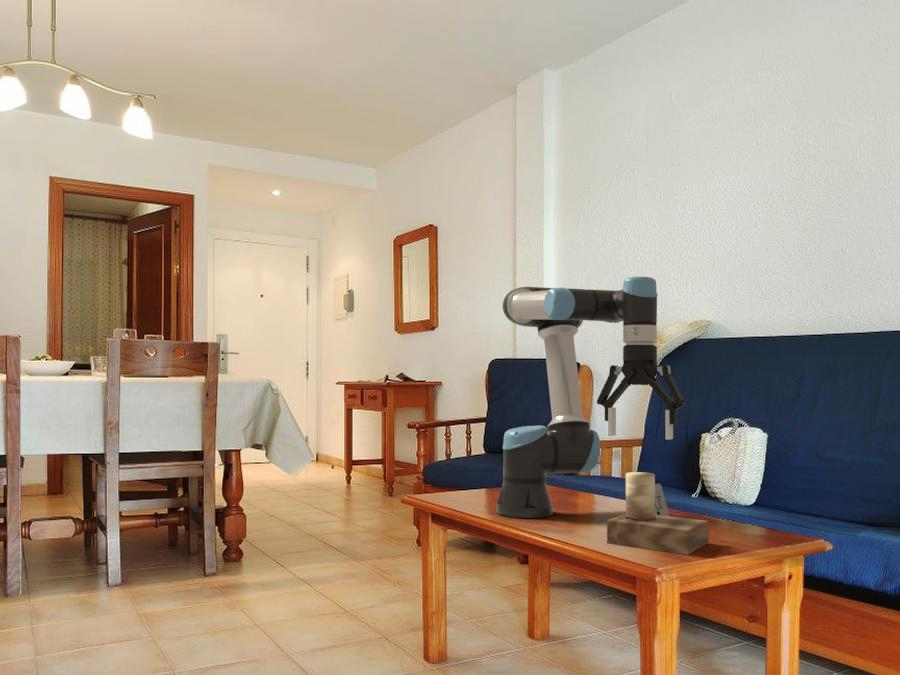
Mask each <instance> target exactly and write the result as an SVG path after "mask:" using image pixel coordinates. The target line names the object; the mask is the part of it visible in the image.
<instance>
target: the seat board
mask: <svg viewBox="0 0 900 675" xmlns="http://www.w3.org/2000/svg"><path fill="white" fill-rule="evenodd" d="M606 520H607V521H606V543H607V544H610V545H611V544H612V545H618V546H625V547H632V548H637V549H638V548H639V549H646V550H651V551H659V552H664V553H671V554H672V553H673V554H680V555H684V556H685V555H686V556H688V555H690V554H693V553H694V552H696V551H697V549H698V550H700V549H701V548H703V547H705V546H707V545H708V544H709V521H708V520H705V519H696V518H689V517H688V518H687V517H679V516H664V515H655V520H653V521H648V522H647V521H635V520H629V519H627V518H626V513H623V514H621V515H618V516H615V517H612V518H610V519H606ZM706 544H707V545H706Z"/></svg>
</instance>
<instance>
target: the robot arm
mask: <svg viewBox="0 0 900 675" xmlns="http://www.w3.org/2000/svg"><path fill="white" fill-rule="evenodd" d="M502 301H503V302H502V311H503V313H504V314H503V315H504V316H505V317H506V318H507V319H508V321H509V322H511V323H513V324H515V325H517V326H522V327H529V328H530V327H531V328H534V327H535V328H537V334H538V337H540V339H542V340H543V344H544V352H545V353H544V354H545V359H546V360H545V362H546V364H545V365H546V371H547V383H548V390H549V391H548V392H549V402H550V409H551V421H550V422H549V423H548V425H547V427H546V426H545V425H526V426H519V427H514V428H513V427H512V428H510V429H508V430H506V431H505V432H504V435H503V442H502V459H503V461H502V472H503V473H502V479H503V480H502V486H501V489H500V493H499V495H498V499H497V502H496V513H497V514H498V515H499V516H503V515H505V517H509V516H510V518H517V519H518V518H520V519H534V518H535V519H538V518H546V517H550V516H552V515H553V508H554V506H553V503H552V500H551V497H550V494H549V491H548V487H547V474H572V473H573V474H579V473H580V474H581V473H589V472H591V471H593V469H594V468H595V467H596V466H597V464H598V461H599V459H600V454H601V441H600V440H601V439H600V437H599V434H598V432H597V431H595V430H593V429H591V428H590V422H589V421H588V420H587V419H586V418H585V417H584V416H583V406H582V405H583V404H582V399H581V390H580V380H579V372H578V365H577V364H578V362H577V355H576V353H577V352H576V348H575V346H576V345H575V335H576V334H577V333H578V332H579V328H580V327H581V326H582V324H583V322H584V321H588V322H589V321H591V322H593V321H594V322H604V323H605V322H606V323H610V324H611V323H612V324H613V323H614V324H619V323H621V322H623V323H622V328H623V330H622V331H623V333H622V337H623V338H622V341H623V343H624V344H625V345H623V346H622V351H623V352H622V360H623V361H622V362H623V364H622V366H618V365H614V364H613V365H610V366H609V373H608V376H607V378H606V381H605V382H604V385H603V387H602V389H601V391H600V393H599V396H598V397H597V400H596V404H597V405H599V406H600V405H601V406H603V408H604V421H605V422H607V424H608V425H607V428H608V429H607V436H608V437H614V436H617V407H614V405H615V404H616V402H617V401H618V400H619V399H620V398H621V396H622V395H623V394H624V392H625V391H626V390H627V389H628V388H629V387H630V386H631V385H632V386H638V385H640V386H650V387H651V388H652V389H653V391H654V392H655V393H656V394H657V395H658V397H659V398H660V399H661V400H662V402H663V403H664V404H665V406H667V408H668V409H665V413H664V415H665V416H664V418H665V420H664V424H665V427H664V428H665V433H664V434H665V440H669V441H670V440H673V439H674V425H677V423H678V410H679V409H681V408H685V407H686V401H685V399H684V397H683V395H682V393H681V391H680V388H679V386H678V385H677V382H676V381H675V378H674V376H673V373H672V366H671V365H666V364H665V365H662V366H659V365H658V363H657V362H658V347H657V345H655V344H656V343H657V342H658V333H657V332H658V329H657V324H658V323H657V322H658V321H657V320H658V290H657V281H656V279H655V278H654V277H650V276H631V277H626V278H625V279H624V280H623V283H622V288H621V289H619V290H609V289H607V290H606V289H585V288H584V289H583V288H567V287H542V286H541V287H538V286H522V287H517V288H515V289H514V288H513V289H512V290H510V291H509V292H508V293H507V294H506V295H505V296H504V298H503V300H502ZM621 373H622V374H623V376H624V377H623V378H622V380H621V381H620V383H619V384H618V385H617V387H616V388H615V389H614V391H613V392H612V390H613V388H614V386H615V384H616V382H617V380H618V377H619V376H620V375H621ZM658 373H659V374H660V375H661V376H663V380H664V381H665V385H666V386H667V388H668V390H669V392H670V394H671V396H672V397H671V396H670V394H669V393H668V392H667V391H666V390H665V388H664V387H663V386H662V385H661V384H660V383H661V382H660V381H659V380H658V379H657V378H656V376H657V375H658ZM611 392H612V393H611Z"/></svg>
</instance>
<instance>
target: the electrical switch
mask: <svg viewBox="0 0 900 675" xmlns="http://www.w3.org/2000/svg"><path fill="white" fill-rule="evenodd" d="M662 487H663V486H662V485H661V483H655V515H664V516H670V511H669V508H668V505H667V502H666V498H665V493H664V491H663V488H662Z"/></svg>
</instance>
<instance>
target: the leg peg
mask: <svg viewBox="0 0 900 675" xmlns="http://www.w3.org/2000/svg"><path fill="white" fill-rule="evenodd" d="M655 484H656V474H655V473H653V472H645V471H643V472H642V471H641V472H640V471H631V472H629V471H627V472H625V514H626V518H627V519H629V520H635V521H647V522H648V521H653V520H655Z"/></svg>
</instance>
